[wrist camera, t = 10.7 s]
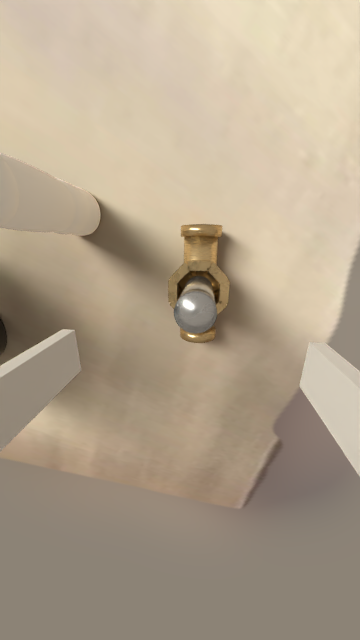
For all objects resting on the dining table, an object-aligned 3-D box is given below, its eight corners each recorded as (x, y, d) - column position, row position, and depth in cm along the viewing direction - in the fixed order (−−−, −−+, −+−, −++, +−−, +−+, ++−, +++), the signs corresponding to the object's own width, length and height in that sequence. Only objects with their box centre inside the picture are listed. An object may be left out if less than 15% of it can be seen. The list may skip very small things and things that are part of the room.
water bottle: (110, 211, 35) (-86, 142, 11) (87, 245, 37) (-118, 243, 14) (76, 178, 34) (-216, 27, 10) (54, 214, 36) (-228, 156, 13)
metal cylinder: (184, 302, 32) (173, 333, 21) (185, 275, 31) (173, 291, 20) (212, 303, 32) (215, 334, 21) (213, 275, 30) (218, 293, 19)
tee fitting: (220, 330, 39) (224, 351, 31) (176, 328, 40) (169, 348, 32) (228, 227, 34) (234, 222, 26) (176, 228, 35) (167, 222, 27)
